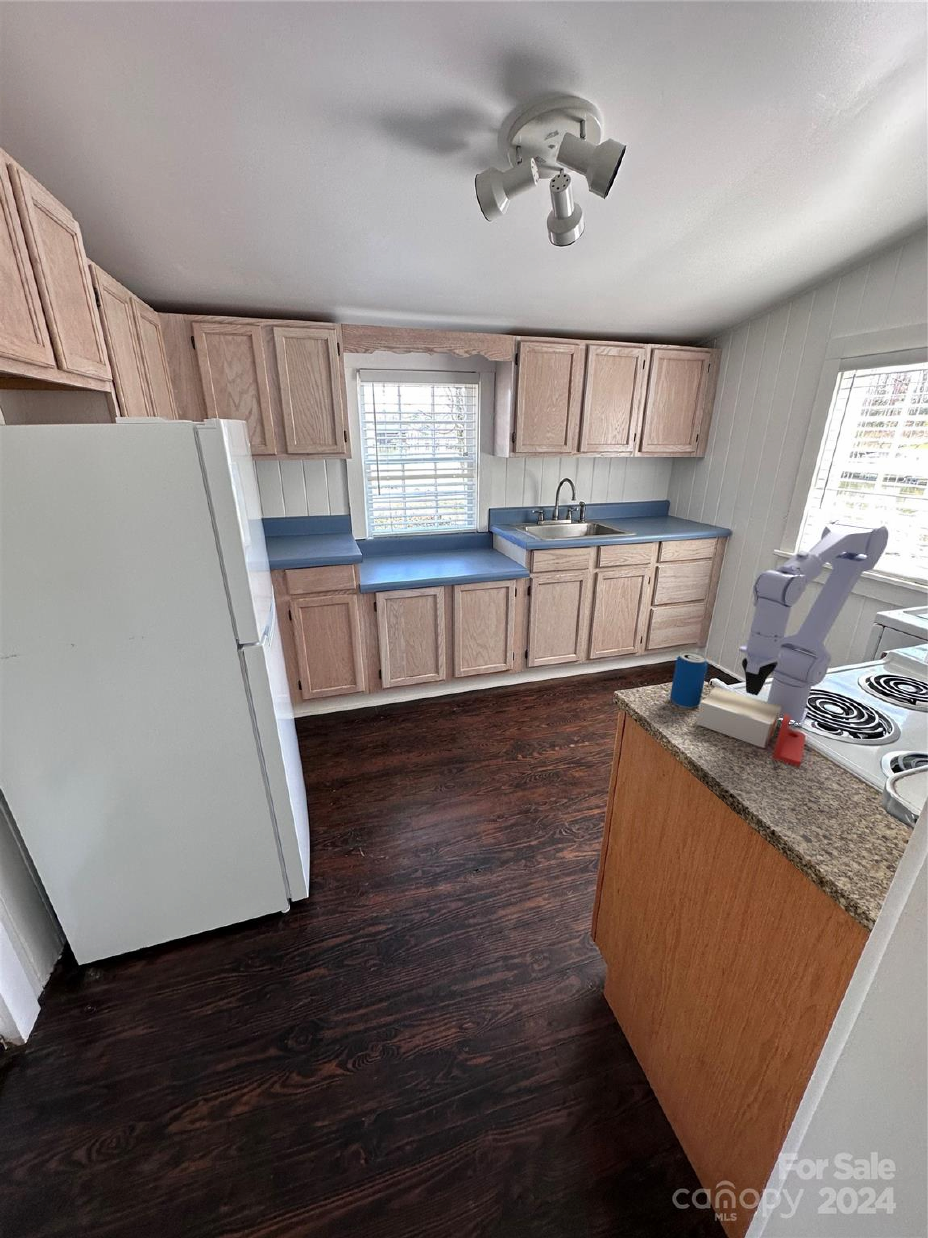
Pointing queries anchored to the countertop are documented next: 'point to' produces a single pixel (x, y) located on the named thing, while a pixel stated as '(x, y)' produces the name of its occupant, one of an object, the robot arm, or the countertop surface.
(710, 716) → the door
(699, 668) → the beverage can
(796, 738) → the bracket
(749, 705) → the cream rectangular block
